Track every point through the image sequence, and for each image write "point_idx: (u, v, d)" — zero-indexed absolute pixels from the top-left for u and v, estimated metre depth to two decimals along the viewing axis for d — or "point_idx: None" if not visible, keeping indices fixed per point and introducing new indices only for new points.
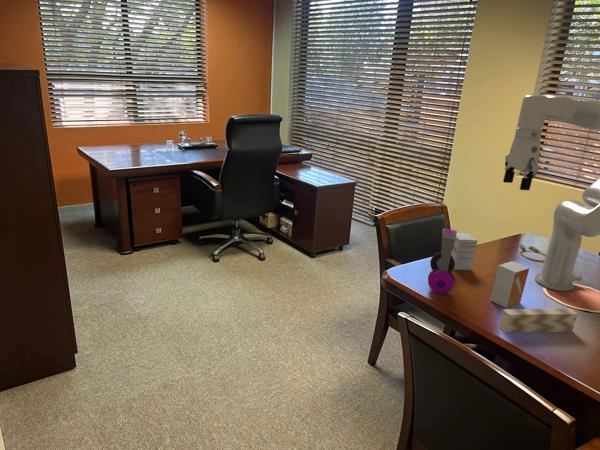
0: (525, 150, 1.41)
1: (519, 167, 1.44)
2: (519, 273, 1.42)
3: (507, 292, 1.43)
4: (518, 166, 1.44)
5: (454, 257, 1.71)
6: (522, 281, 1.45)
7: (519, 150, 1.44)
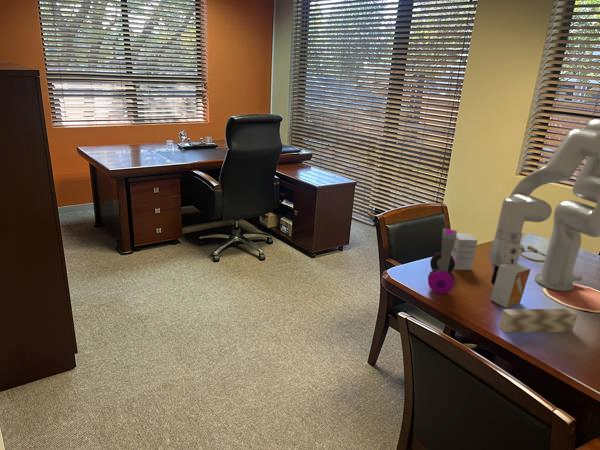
0: (505, 251, 1.46)
1: (499, 266, 1.49)
2: (520, 274, 1.41)
3: (508, 292, 1.43)
4: (499, 265, 1.49)
5: (454, 257, 1.71)
6: (523, 282, 1.45)
7: (499, 249, 1.48)
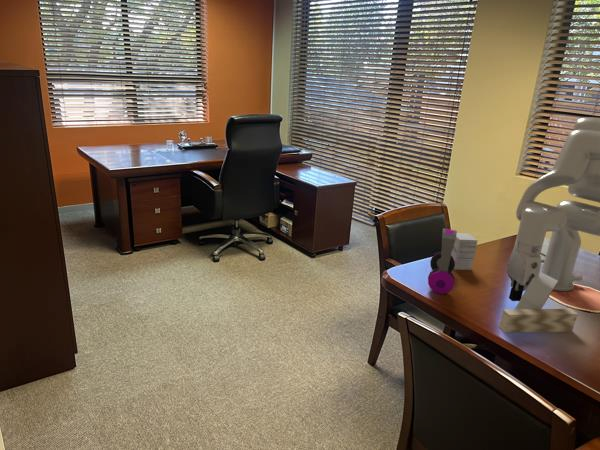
0: (525, 265, 1.35)
1: (519, 281, 1.38)
2: (553, 288, 1.33)
3: (537, 306, 1.35)
4: (518, 280, 1.39)
5: (454, 257, 1.71)
6: None
7: (519, 263, 1.38)
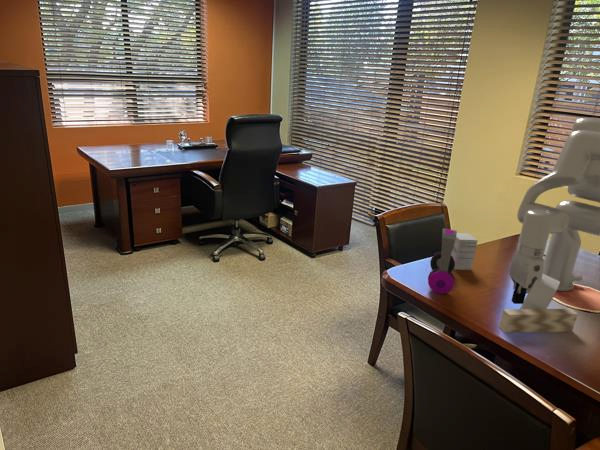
0: (528, 268, 1.34)
1: (521, 284, 1.37)
2: None
3: (542, 308, 1.34)
4: (521, 282, 1.37)
5: (454, 257, 1.71)
6: None
7: (521, 266, 1.37)
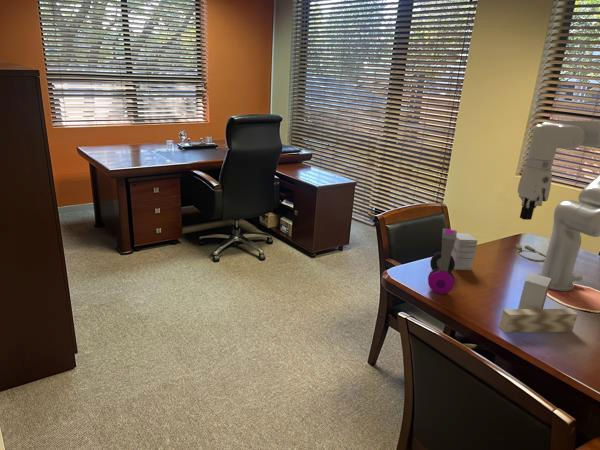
0: (537, 180, 1.39)
1: (530, 197, 1.42)
2: (548, 286, 1.34)
3: (537, 307, 1.35)
4: (529, 196, 1.42)
5: (454, 257, 1.71)
6: (546, 293, 1.38)
7: (530, 180, 1.41)
